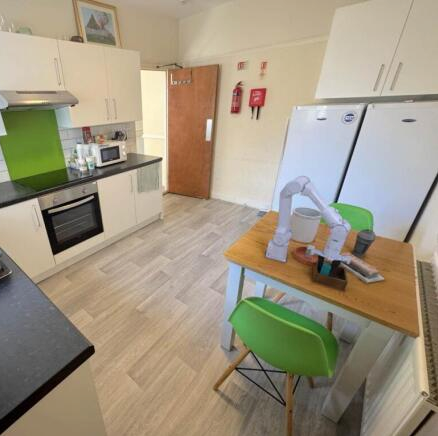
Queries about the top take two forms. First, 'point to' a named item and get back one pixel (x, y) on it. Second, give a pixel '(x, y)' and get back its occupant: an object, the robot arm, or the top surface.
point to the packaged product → (361, 269)
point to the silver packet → (309, 251)
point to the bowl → (300, 256)
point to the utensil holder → (305, 223)
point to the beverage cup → (363, 242)
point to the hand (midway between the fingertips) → (324, 270)
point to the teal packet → (325, 268)
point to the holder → (331, 277)
